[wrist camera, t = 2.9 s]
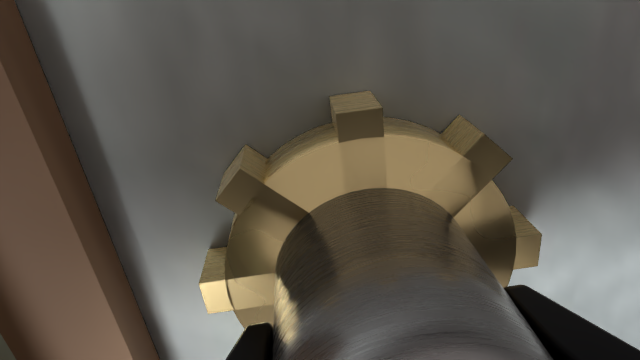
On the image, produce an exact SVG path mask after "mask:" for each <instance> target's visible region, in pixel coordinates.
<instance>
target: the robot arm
mask: <svg viewBox="0 0 640 360" xmlns="http://www.w3.org/2000/svg"><path fill="white" fill-rule="evenodd" d="M503 288H504V290H505V291H506V293H507V294H508V296H509V297H510V298H511V300H512V301H513V303H514V304H515V306H516V307H517V308H518V310H519V311H520V313H521V314H522V315H523V317H524V318H525V320H526V321H527V323H528V324H529V325H530V327H531V328H532V330H533V331H534V333H535V334H536V335H537V337H538V338H539V340H540V341H541V343H542V344H543V345H544V347H545V348H546V350H547V351H548V353H549V354H550V355H551V357H552V358H553V360H640V350H638V349H636V348H635V347H633V346H631V345H629V344H628V343H626V342H624V341H622V340H621V339H619V338H617V337H615V336H614V335H612V334H610V333H608V332H607V331H605V330H603V329H601V328H600V327H598V326H596V325H594V324H593V323H591V322H589V321H587V320H586V319H584V318H582V317H580V316H579V315H577V314H575V313H573V312H572V311H570V310H568V309H566V308H565V307H563V306H561V305H559V304H558V303H556V302H554V301H552V300H551V299H549V298H547V297H545V296H544V295H542V294H540V293H538V292H537V291H535V290H533V289H531V288H530V287H528V286H525V285H516V286H509V287H503ZM272 351H273V327H272V324H271V323H269V322H263V323H257V324H250V325H248V326H247V327H246V328H245V330H244V331H243V333H242V335H241V336H240V338H239V339H238V341H237V342H236V344H235V346H234V347H233V349H232V350H231V352H230V353H229V355H228V357H227V358H226V360H272Z"/></svg>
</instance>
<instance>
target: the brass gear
mask: <svg viewBox="0 0 640 360" xmlns="http://www.w3.org/2000/svg"><path fill="white" fill-rule="evenodd" d="M329 98H330V107H331V116H332V122H331V123H328V124H325V125H322V126H319V127H316V128H313V129H311V130H309V131H307V132H305V133H303V134H301V135H299V136H297V137H295V138H294V139H292V140H290V141H289V142H287V143H286V144H284V145H283V146H281V147H280V148H279V149H278V150H276V151H275V152H274V153H273V154H272V155H271V156H269V157H268V158H265V157H264V156H262V155H261V154H259V153H258V152H256V151H255V150H253V149H252V148H250V147H249V146H247V145H246V144H245V146H244V147H243V148H242V150H241V151H240V152H239V154H238V155H237V156H236V158H235V159H234V160H233V162H232V163H231V164H230V166H229V167H228V168H227V170H226V171H225V172H224V174H223V178H222V181H221V184H220V187H219V190H218V193H217V197H216V200H215V201H216V202H218V203H220V204H221V205H223V206H225V207H226V208H228V209H230V210H231V211H233V212H235V213H234V217H233V222H232V226H231V231H230V236H229V240H228V245H227V247H220V248H213V249H208V253H207V256H206V260H205V263H204V267H203V271H202V274H201V278H200V281H199V286H200V289H201V293H202V296H203V299H204V302H205V305H206V309H207V312H208V314H210V313H217V312H224V311H231V310H233V311H234V312H235V314H236V316H237V318H238V320H239V321H240V323H241V324H242V326H243V327H244V328H246V327H247V326H248V325H250V324H257V323H263V322H269V323H271V324H272V327H273V351H272V360H553V358H552V357H551V355H550V354H549V353H548V351H547V350H546V348H545V347H544V345H543V344H542V343H541V341H540V340H539V338H538V337H537V335H536V334H535V333H534V331H533V330H532V328H531V327H530V325H529V324H528V323H527V321H526V320H525V318H524V317H523V315H522V314H521V313H520V311H519V310H518V308H517V307H516V306H515V304H514V303H513V301H512V300H511V298H510V297H509V296H508V294H507V293H506V291H505V290H504V288H503V287H507V286H508V283H509V280H510V277H511V274H512V271H513V270H514V269H521V268H528V267H534V266H538V260H539V252H540V245H541V237H542V234H541V233H540V232H539V231H538V230H537V229H536V228H535V227H534V226H533V225H532V224H531V223H530V222H529V221H528V220H527V219H526V218H525V217H524V216H523V215H522V214H521V213H520V212H519V211H518V210H517V209H516V208H515V207H514V206H508V204H507V202H506V200H505V198H504V196H503V194H502V192H501V191H500V190H499V188H498V187H497V186H496V185H495V183H494V182H493V181H492V179H493V178H494V177H495V176H496V175H497V174H498V173H499V172H500V171H501V170H502V169H503V168H504V167H505V166H506V165H507V164H508V163H509V162H510V161H511V160H512V159H513V158H512V157H510V156H509V155H508V154H507V153H506V152H505V151H503V150H502V149H501V148H500V147H499V146H498V145H496V144H495V143H494V142H493V141H492V140H491V139H489V138H488V137H487V136H486V135H485V134H483V133H482V132H481V131H480V130H478V129H477V128H476V127H475V126H473V125H472V124H471V123H470V122H468V121H467V120H466V119H464V118H463V117H462V116H461V115H458V116H457V118H456V119H455V120H454V121H453V122H452V123H451V124H450V125H449V126H448V127H447V128H446V130H445V131H444V132H443V133H442V134H440V133H438V132H436V131H434V130H432V129H430V128H428V127H426V126H423V125H420V124H417V123H414V122H411V121H407V120H401V119H396V118H391V117H383V108H382V106H381V105H380V104H379V102H378V101H377V100H376V98H375V97H374V96H373V94H372V93H371V91H363V92H356V93H349V94H342V95H335V96H329Z"/></svg>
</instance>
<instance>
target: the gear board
mask: <svg viewBox="0 0 640 360" xmlns="http://www.w3.org/2000/svg"><path fill="white" fill-rule="evenodd" d="M0 360H160V359H159V357H158V354H157V352H156V349H155V347H154V344H153V342H152V340H151V337H150V335H149V332H148V330H147V327H146V325H145V322H144V320H143V317H142V315H141V312H140V310H139V307H138V305H137V302H136V300H135V298H134V295H133V293H132V290H131V288H130V285H129V283H128V280H127V278H126V275H125V273H124V270H123V268H122V265H121V263H120V260H119V258H118V256H117V253H116V251H115V248H114V246H113V243H112V241H111V238H110V236H109V233H108V231H107V228H106V226H105V223H104V221H103V218H102V216H101V213H100V211H99V209H98V206H97V204H96V201H95V199H94V196H93V194H92V191H91V189H90V186H89V184H88V181H87V179H86V176H85V174H84V171H83V169H82V167H81V164H80V162H79V159H78V157H77V154H76V152H75V149H74V147H73V144H72V142H71V139H70V137H69V134H68V132H67V129H66V127H65V125H64V122H63V120H62V117H61V115H60V112H59V110H58V107H57V105H56V102H55V100H54V97H53V95H52V92H51V90H50V87H49V85H48V83H47V80H46V78H45V75H44V73H43V70H42V68H41V65H40V63H39V60H38V58H37V55H36V53H35V50H34V48H33V45H32V43H31V41H30V38H29V36H28V33H27V31H26V28H25V26H24V23H23V21H22V18H21V16H20V13H19V11H18V8H17V6H16V3H15V1H14V0H0Z"/></svg>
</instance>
